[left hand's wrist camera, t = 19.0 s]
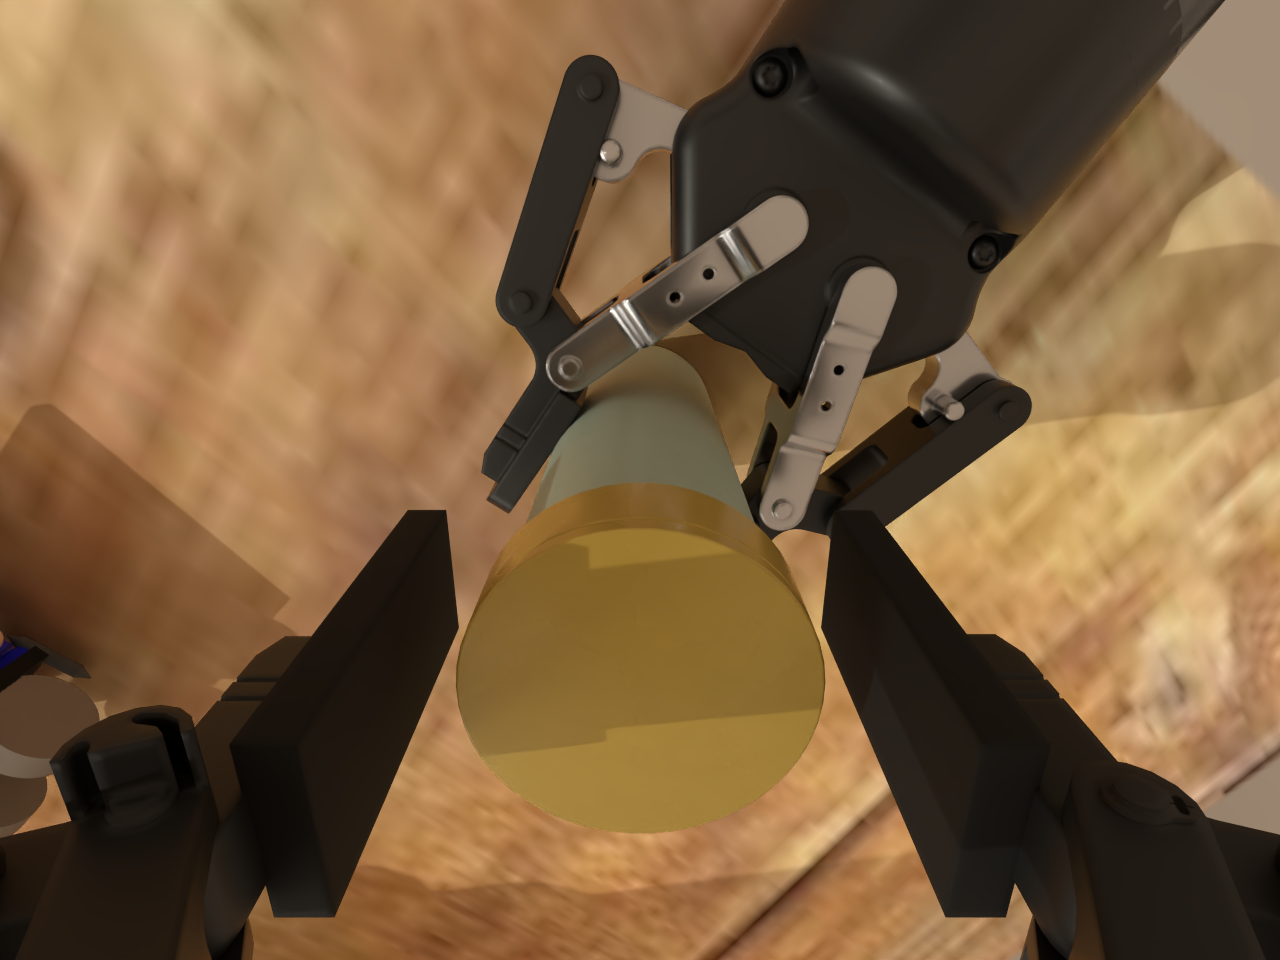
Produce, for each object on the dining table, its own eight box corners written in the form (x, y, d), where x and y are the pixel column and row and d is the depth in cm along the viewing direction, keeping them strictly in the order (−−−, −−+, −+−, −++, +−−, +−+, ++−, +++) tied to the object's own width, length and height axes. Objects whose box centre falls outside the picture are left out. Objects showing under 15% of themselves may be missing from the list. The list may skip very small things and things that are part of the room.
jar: (618, 501, 27) (593, 820, 13) (543, 390, 25) (424, 616, 11) (735, 436, 26) (845, 703, 12) (665, 316, 24) (697, 464, 10)
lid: (455, 493, 11) (424, 542, 10) (801, 469, 11) (829, 515, 10) (504, 764, 13) (486, 843, 12) (800, 746, 13) (822, 824, 12)
